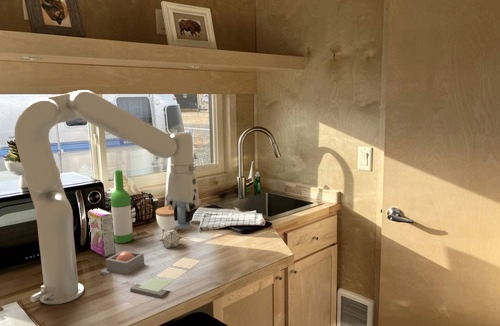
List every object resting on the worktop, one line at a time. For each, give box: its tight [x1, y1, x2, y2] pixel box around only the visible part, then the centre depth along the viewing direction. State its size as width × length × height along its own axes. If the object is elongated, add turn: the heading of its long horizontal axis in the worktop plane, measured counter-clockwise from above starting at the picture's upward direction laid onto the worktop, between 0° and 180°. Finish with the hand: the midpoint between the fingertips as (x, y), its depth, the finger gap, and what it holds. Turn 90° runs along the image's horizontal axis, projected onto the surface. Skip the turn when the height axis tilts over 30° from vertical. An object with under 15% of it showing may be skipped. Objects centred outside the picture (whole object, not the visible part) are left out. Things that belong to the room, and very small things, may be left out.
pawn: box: [176, 201, 192, 230], centre depth 145 cm, size 5×5×11 cm
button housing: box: [99, 249, 145, 276], centre depth 145 cm, size 12×12×5 cm
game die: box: [159, 228, 183, 249], centre depth 164 cm, size 9×8×10 cm
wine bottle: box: [110, 169, 134, 244], centre depth 172 cm, size 8×8×30 cm
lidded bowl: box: [155, 204, 179, 231], centre depth 188 cm, size 13×13×11 cm
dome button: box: [116, 252, 134, 262], centre depth 145 cm, size 6×6×6 cm
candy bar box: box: [87, 207, 116, 257], centre depth 161 cm, size 11×5×16 cm, turn 47°
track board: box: [129, 257, 201, 299], centre depth 140 cm, size 28×12×1 cm, turn 156°
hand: (183, 220), depth 145 cm, fingers closed on pawn, 4 cm apart
